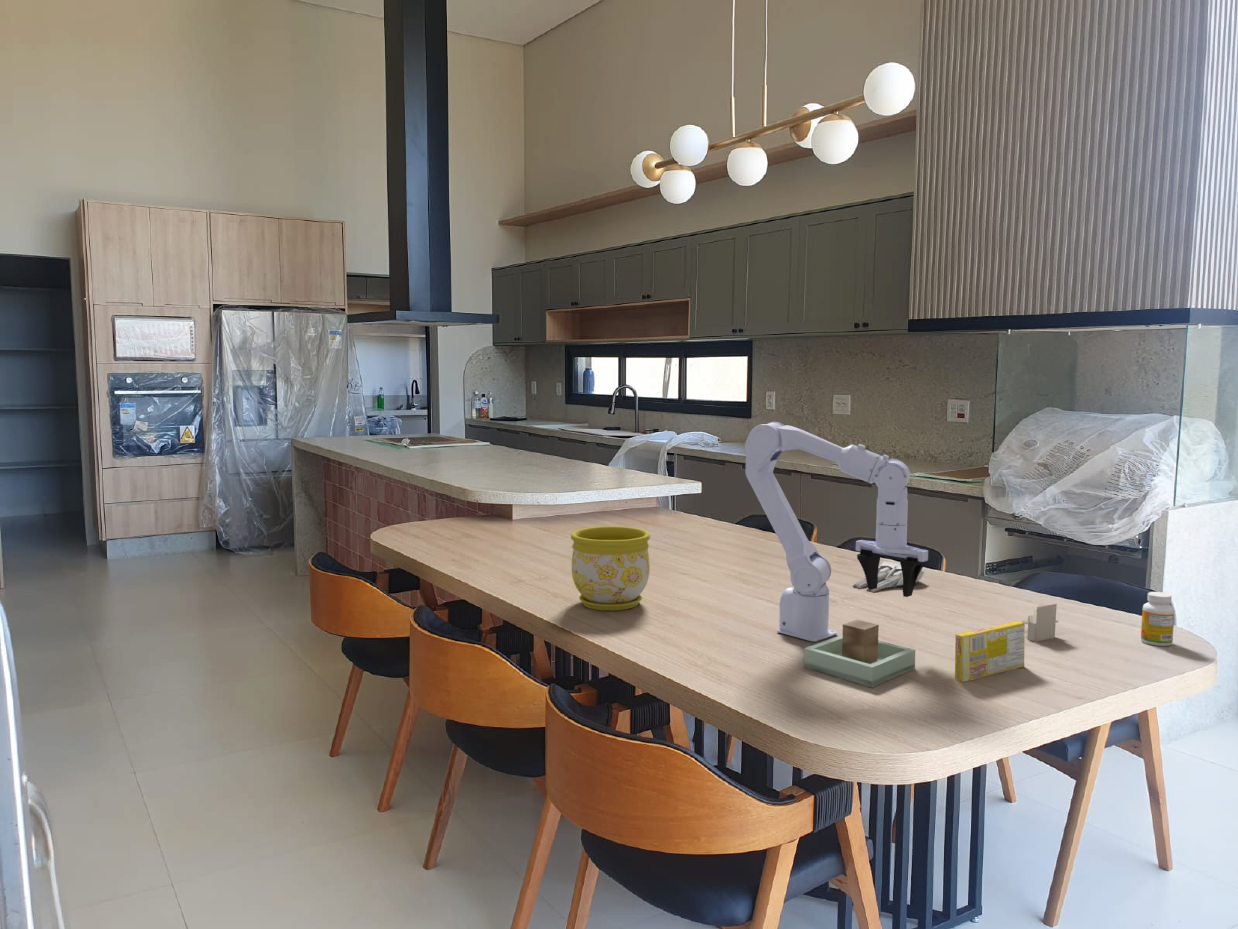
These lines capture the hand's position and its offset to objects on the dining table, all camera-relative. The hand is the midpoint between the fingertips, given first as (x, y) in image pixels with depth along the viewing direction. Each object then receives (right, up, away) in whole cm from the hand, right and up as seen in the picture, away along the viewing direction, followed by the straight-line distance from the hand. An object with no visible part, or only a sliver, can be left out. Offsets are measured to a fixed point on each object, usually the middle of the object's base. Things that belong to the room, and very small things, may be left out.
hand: (889, 592), depth 175 cm
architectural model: (+32, -11, +5) cm, 34 cm away
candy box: (+13, -13, -15) cm, 24 cm away
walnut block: (-9, -11, -12) cm, 19 cm away
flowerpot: (-55, -7, +31) cm, 63 cm away
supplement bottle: (+53, -10, +2) cm, 54 cm away
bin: (-9, -12, -12) cm, 20 cm away
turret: (+15, -6, +49) cm, 52 cm away
